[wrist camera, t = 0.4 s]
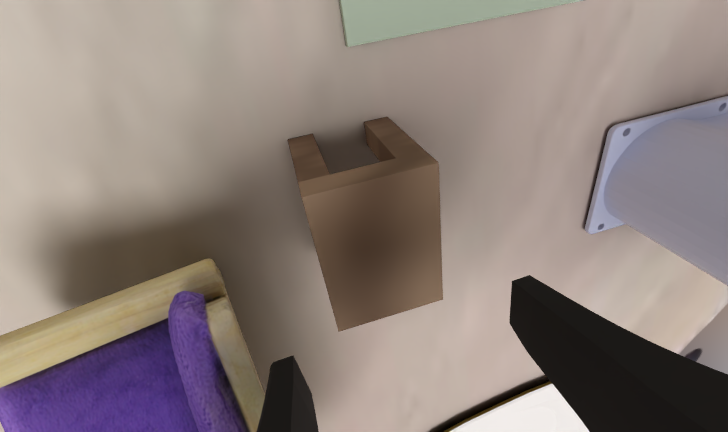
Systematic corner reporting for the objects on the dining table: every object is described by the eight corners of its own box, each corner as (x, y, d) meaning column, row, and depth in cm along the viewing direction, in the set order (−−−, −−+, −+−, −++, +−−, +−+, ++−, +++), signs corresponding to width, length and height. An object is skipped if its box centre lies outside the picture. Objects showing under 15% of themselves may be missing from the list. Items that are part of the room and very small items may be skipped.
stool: (387, 116, 18) (438, 162, 13) (399, 230, 22) (442, 299, 17) (287, 139, 17) (301, 197, 12) (318, 252, 21) (338, 331, 16)
